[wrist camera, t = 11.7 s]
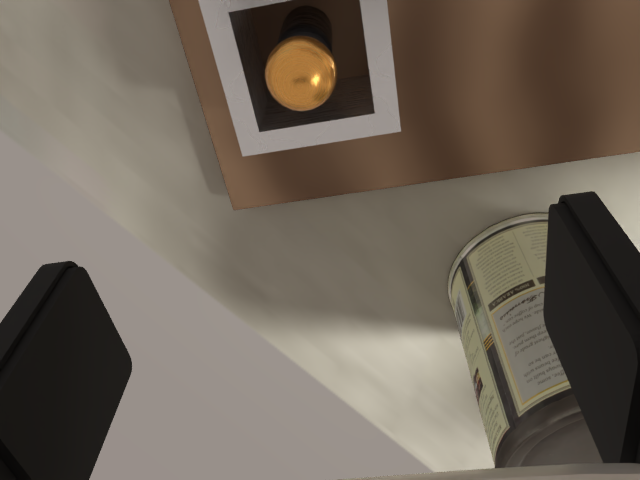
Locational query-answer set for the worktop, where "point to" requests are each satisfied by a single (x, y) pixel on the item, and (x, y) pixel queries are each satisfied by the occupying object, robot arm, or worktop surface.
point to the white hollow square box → (289, 125)
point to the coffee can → (516, 348)
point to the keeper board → (445, 93)
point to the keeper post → (302, 61)
